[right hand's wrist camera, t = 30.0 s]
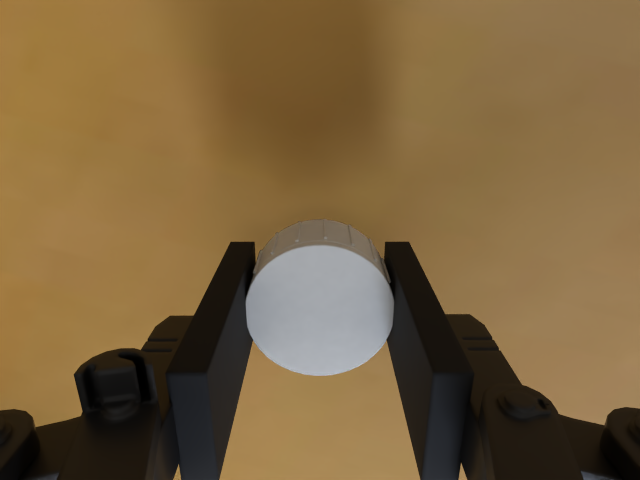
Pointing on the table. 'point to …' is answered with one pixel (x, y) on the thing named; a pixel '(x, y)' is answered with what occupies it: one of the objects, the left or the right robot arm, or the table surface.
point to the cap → (319, 298)
